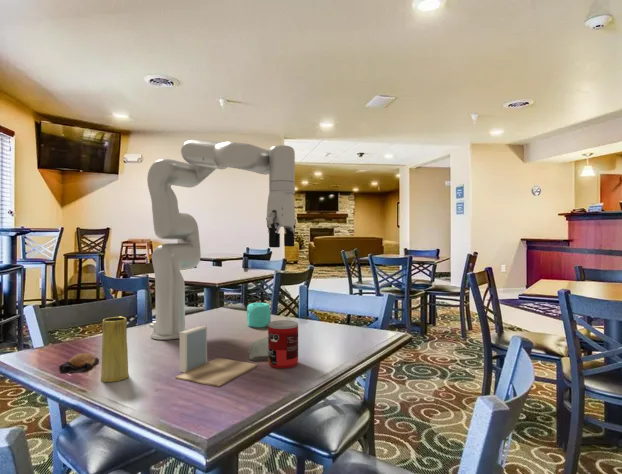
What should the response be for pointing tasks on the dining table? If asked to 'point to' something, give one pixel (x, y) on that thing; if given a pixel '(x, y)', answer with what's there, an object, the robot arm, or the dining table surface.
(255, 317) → the decorative dice
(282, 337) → the canned food
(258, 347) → the stone slab
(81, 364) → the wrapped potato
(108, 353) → the vase
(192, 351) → the tile
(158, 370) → the dining table surface
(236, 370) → the mat
